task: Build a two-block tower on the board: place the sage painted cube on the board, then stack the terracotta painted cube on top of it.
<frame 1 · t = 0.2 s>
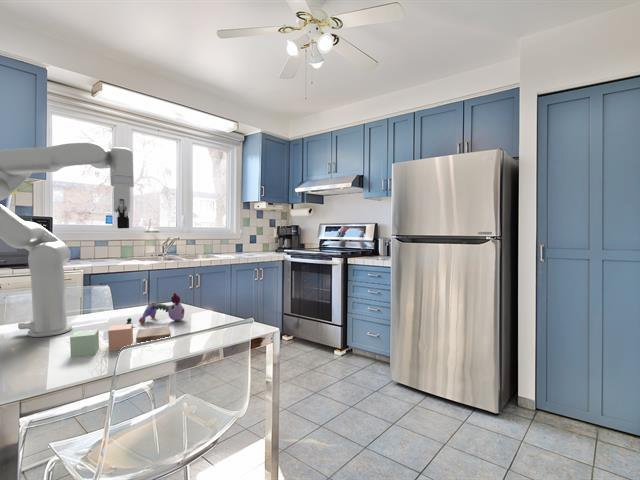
hand: (123, 228, 136), 36 cm above the table, tool pointing down, fingers open, 9 cm apart
terracotta cube: (121, 346, 114), on the table
toy: (164, 321, 143), on the table, touching sculpture
sculpture: (131, 329, 134), on the table, touching toy
sage cube: (85, 353, 107), on the table
board: (153, 336, 123), on the table
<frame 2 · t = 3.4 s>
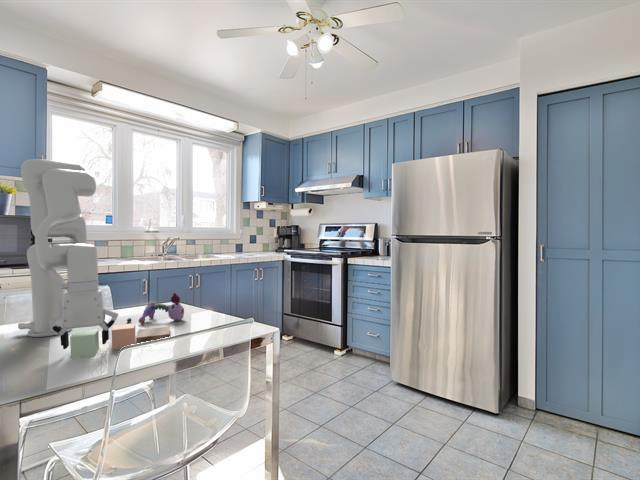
hand: (85, 345, 107), 2 cm above the table, tool pointing down, fingers open, 9 cm apart
terracotta cube: (124, 345, 114), on the table, touching gripper
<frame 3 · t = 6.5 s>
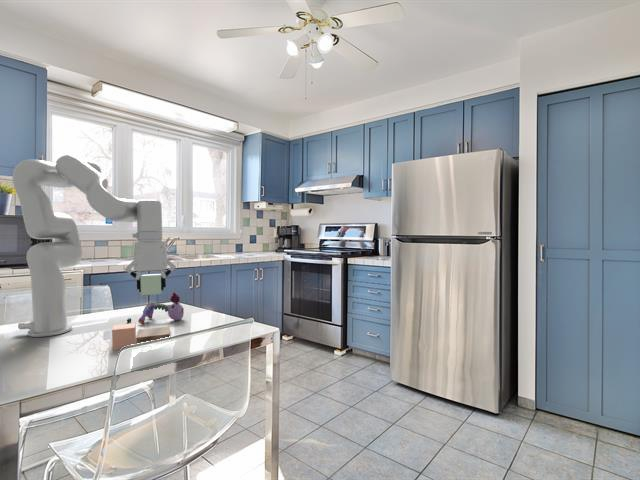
hand: (151, 290, 122), 16 cm above the table, tool pointing down, fingers closed on sage cube, 6 cm apart
terracotta cube: (124, 345, 114), on the table
toy: (163, 321, 144), on the table
sculpture: (131, 329, 134), on the table
sage cube: (151, 293, 122), point 15 cm above the table, touching gripper
when the fingers open (4 cm above the table, at t = 9.2 s): sage cube drops 2 cm, resting on board.
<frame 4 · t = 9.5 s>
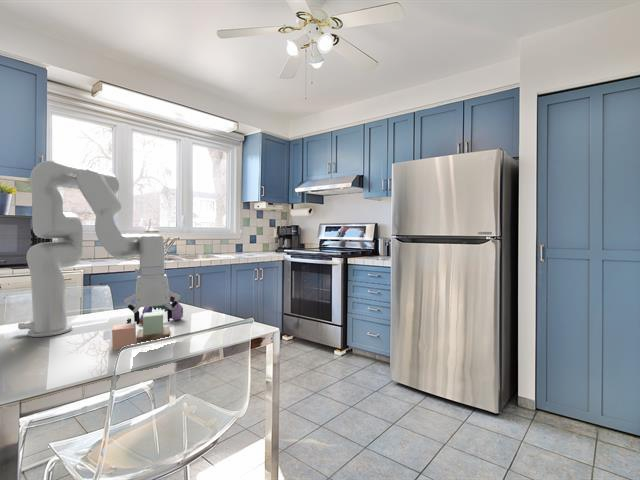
hand: (153, 322, 123), 5 cm above the table, tool pointing down, fingers open, 9 cm apart
toy: (162, 321, 144), on the table, touching sculpture
sculpture: (131, 329, 134), on the table, touching toy
sage cube: (153, 331, 123), point 1 cm above the table, touching board
everything else where it was.
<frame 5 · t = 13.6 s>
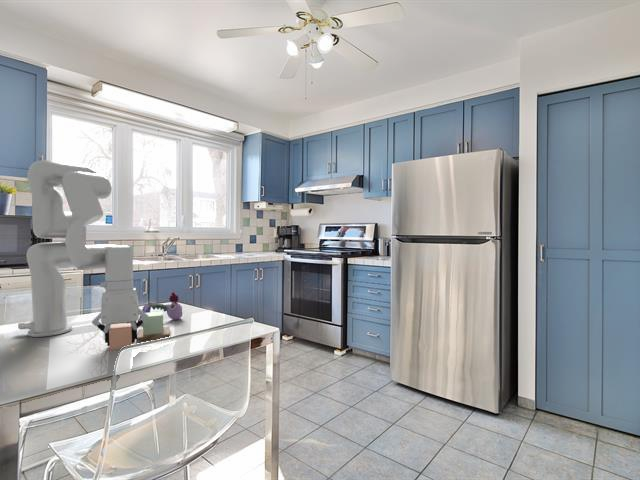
hand: (121, 342, 113), 1 cm above the table, tool pointing down, fingers closed on terracotta cube, 6 cm apart
terracotta cube: (121, 345, 114), on the table, touching gripper
toy: (161, 321, 144), on the table
sculpture: (131, 329, 134), on the table
everything else where it was.
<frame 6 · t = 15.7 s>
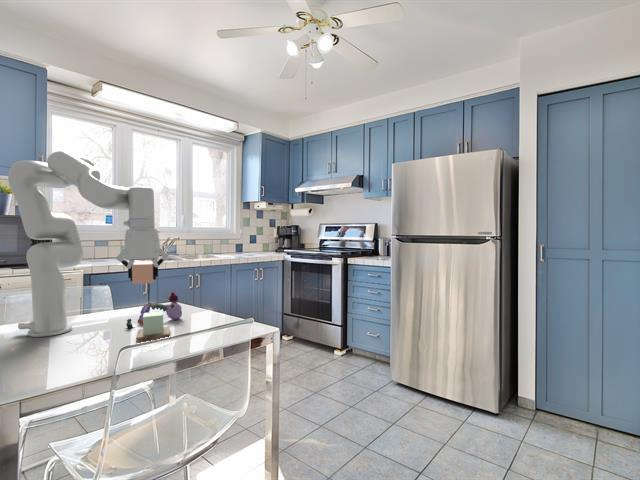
hand: (143, 279, 120), 20 cm above the table, tool pointing down, fingers closed on terracotta cube, 6 cm apart
terracotta cube: (143, 282, 120), point 19 cm above the table, touching gripper
toy: (161, 321, 144), on the table, touching sculpture
sculpture: (131, 330, 133), on the table, touching toy
everything else where it was.
when the fingers open (10 cm above the table, at t = 18.1 s): terracotta cube drops 1 cm, resting on sage cube.
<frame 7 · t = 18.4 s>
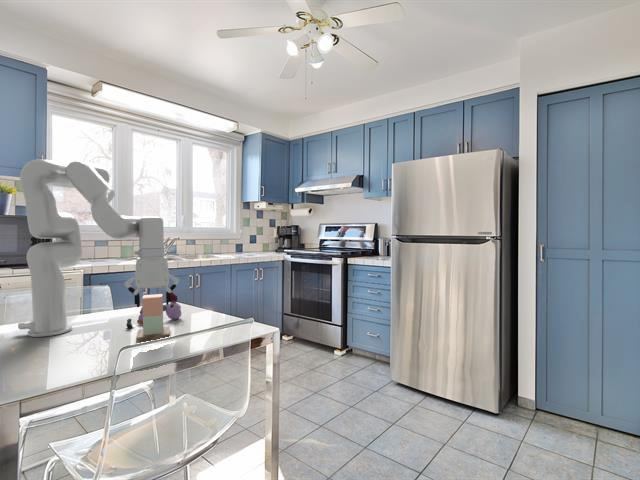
hand: (153, 305, 123), 11 cm above the table, tool pointing down, fingers open, 8 cm apart
terracotta cube: (153, 313, 124), point 7 cm above the table, touching sage cube
sage cube: (153, 331, 123), point 1 cm above the table, touching board, terracotta cube
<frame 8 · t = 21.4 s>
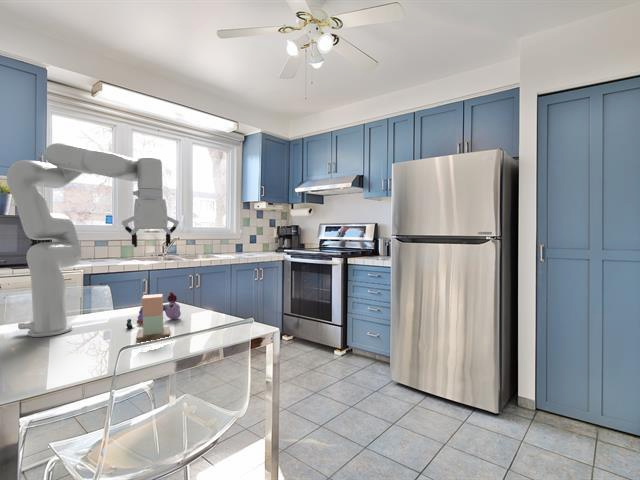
hand: (151, 246, 122), 30 cm above the table, tool pointing down, fingers open, 9 cm apart
nothing on the table moved.
at the end: sage cube 0.1 cm off-centre on the board, point 1.5 cm above the board's base; terracotta cube 0.7 cm off-centre on the sage cube, point 6.0 cm above the sage cube's base; terracotta cube tilted 0° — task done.
